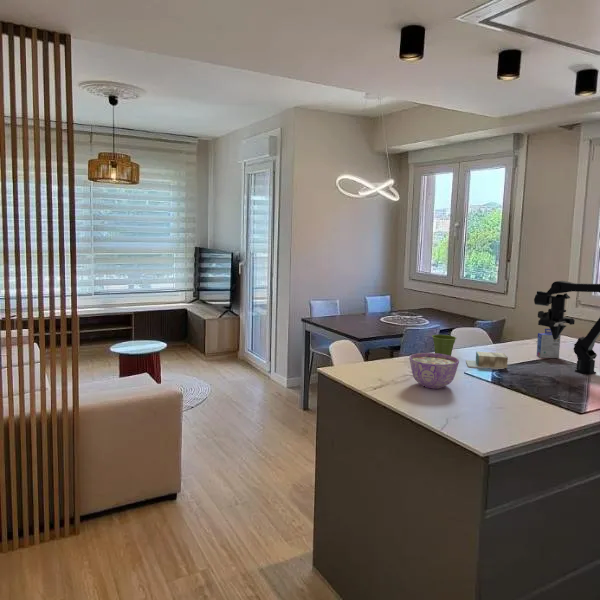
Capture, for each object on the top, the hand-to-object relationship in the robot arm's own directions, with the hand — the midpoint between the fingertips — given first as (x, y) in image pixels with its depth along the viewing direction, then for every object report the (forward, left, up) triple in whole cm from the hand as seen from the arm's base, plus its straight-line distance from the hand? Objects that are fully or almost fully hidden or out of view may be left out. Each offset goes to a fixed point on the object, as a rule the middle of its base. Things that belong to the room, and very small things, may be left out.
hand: (555, 339), depth 249 cm
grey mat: (+14, +31, -13) cm, 36 cm away
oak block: (+8, +23, -10) cm, 26 cm away
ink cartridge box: (+14, -14, -13) cm, 24 cm away
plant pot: (+32, +40, -13) cm, 53 cm away
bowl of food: (-2, +76, -13) cm, 77 cm away
